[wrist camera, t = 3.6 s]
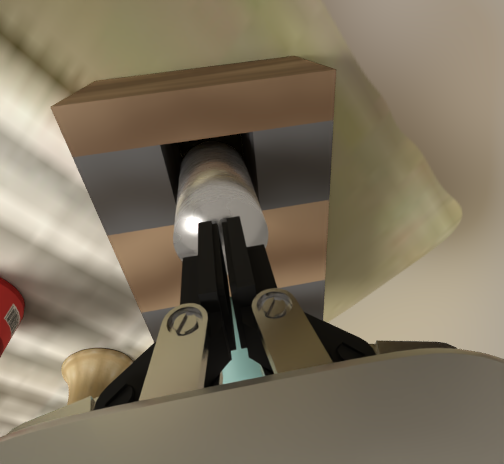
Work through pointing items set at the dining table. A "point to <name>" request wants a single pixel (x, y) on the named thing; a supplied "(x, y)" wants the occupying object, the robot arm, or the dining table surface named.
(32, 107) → the dining table surface
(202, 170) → the steel peg
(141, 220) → the socket block
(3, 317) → the canned food
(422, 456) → the robot arm
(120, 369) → the hand bell
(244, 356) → the teal peg
